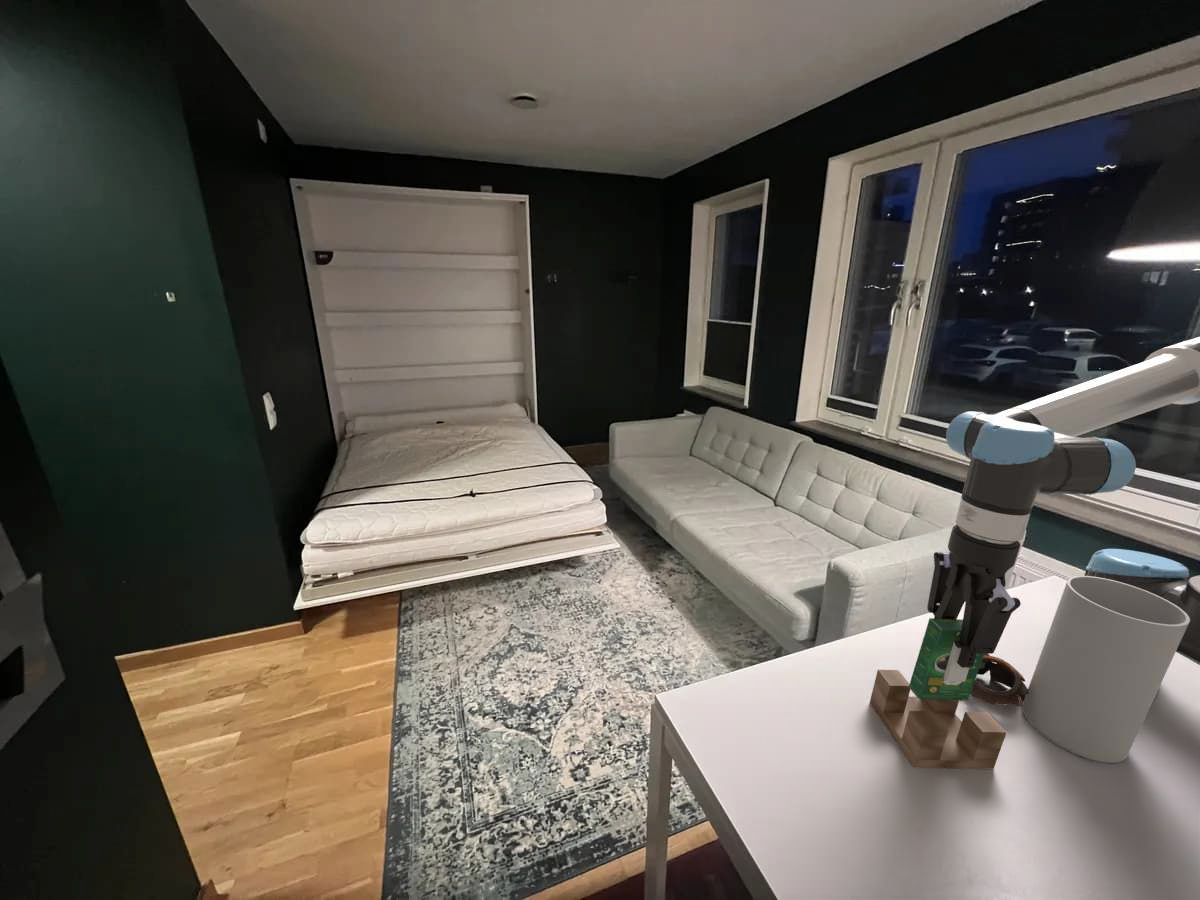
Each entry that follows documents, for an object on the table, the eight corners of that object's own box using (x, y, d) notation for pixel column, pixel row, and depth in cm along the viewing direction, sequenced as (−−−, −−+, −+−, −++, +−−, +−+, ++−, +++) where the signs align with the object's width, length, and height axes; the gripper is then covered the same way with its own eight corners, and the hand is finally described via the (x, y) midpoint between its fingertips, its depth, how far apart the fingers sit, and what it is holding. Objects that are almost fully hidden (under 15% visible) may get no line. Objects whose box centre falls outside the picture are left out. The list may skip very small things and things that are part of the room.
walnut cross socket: (938, 704, 82) (948, 671, 80) (993, 769, 71) (1006, 732, 69) (869, 702, 82) (877, 669, 80) (913, 767, 70) (924, 730, 68)
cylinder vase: (1128, 782, 69) (1197, 639, 62) (1017, 729, 77) (1066, 597, 70) (1123, 731, 78) (1182, 599, 70) (1024, 688, 86) (1067, 567, 79)
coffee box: (957, 687, 75) (979, 617, 72) (971, 701, 73) (994, 630, 69) (907, 686, 75) (926, 616, 71) (919, 701, 73) (939, 629, 69)
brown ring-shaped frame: (1043, 718, 81) (1043, 692, 77) (982, 730, 83) (979, 705, 79) (995, 655, 91) (993, 629, 87) (942, 667, 93) (937, 642, 89)
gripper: (922, 508, 73) (890, 635, 80) (1007, 561, 58) (959, 713, 65) (970, 509, 73) (934, 636, 80) (1067, 562, 58) (1013, 714, 65)
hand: (945, 670), depth 73 cm, fingers closed on coffee box, 3 cm apart
